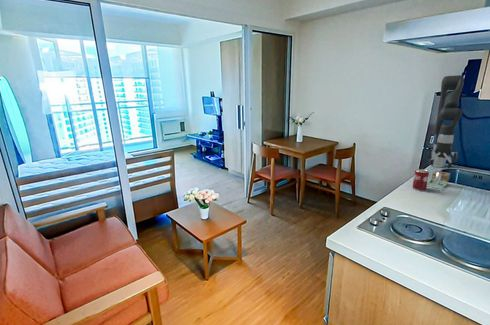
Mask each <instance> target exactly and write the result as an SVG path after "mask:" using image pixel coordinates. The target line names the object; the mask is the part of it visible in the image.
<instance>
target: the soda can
mask: <svg viewBox="0 0 490 325" xmlns="http://www.w3.org/2000/svg"><path fill="white" fill-rule="evenodd" d="M429 175H430V172H429V170H427V169H425V168H423V169H422V168H416V169H415V170H414V176H413V179H412V180H413V181H412V186H411V187H412V189H413V190H415V191H421V192H423V191H426V190H427V188H428V185H427V182H428V181H429Z"/></svg>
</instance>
